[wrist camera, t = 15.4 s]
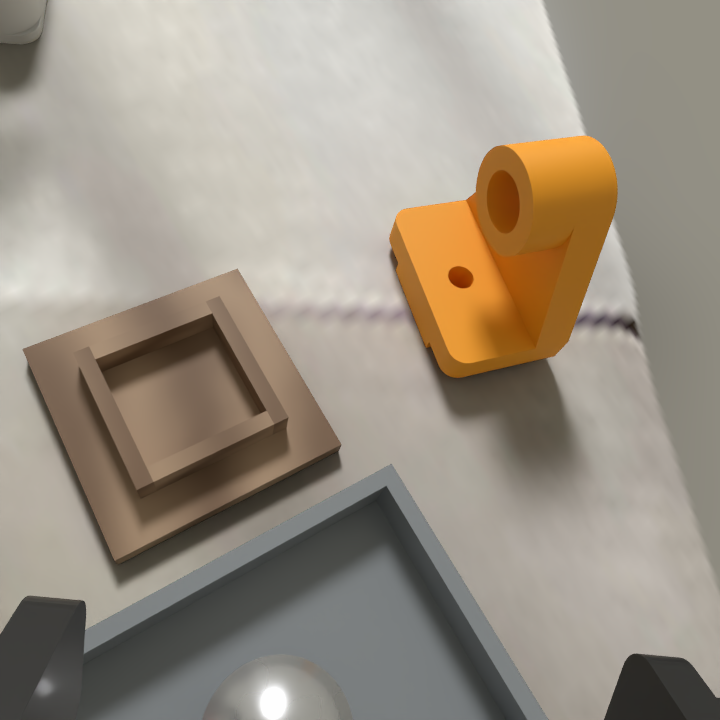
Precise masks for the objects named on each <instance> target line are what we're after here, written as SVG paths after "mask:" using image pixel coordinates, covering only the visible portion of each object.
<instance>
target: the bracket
mask: <svg viewBox="0 0 720 720" xmlns="http://www.w3.org/2000/svg"><path fill="white" fill-rule="evenodd" d="M616 203H617V178H616V173H615V169H614V166H613V162H612V160H611V158H610V156H609V154H608V152H607V151H606V149H605V148H604V147H603V145H602V144H600V143H599V142H598V141H597V140H596V139H594V138H592V137H589V136H576V137H568V138H559V139H551V140H543V141H534V142H526V143H518V144H509V145H501V146H496V147H494V148H492V149H491V150H490V151H489V152H488V153H487V154H486V156H485V157H484V159H483V161H482V163H481V166H480V169H479V172H478V177H477V184H476V192H475V193H474V194H473V195H472V196H470V197H469V198H468V199H467V200H463V201H456V202H449V203H442V204H435V205H428V206H421V207H414V208H407V209H403V210H401V211H400V212H399V213H398V214H397V216H396V219H395V222H394V225H393V228H392V231H391V234H390V237H389V240H390V244H391V246H392V249H393V251H394V254H395V256H396V259H397V261H398V266H397V268H396V273H397V276H398V278H399V281H400V283H401V286H402V288H403V291H404V293H405V296H406V298H407V301H408V304H409V306H410V309H411V311H412V314H413V316H414V319H415V321H416V324H417V327H418V329H419V332H420V334H421V337H422V339H423V342H424V344H425V347H426V348H428V347H432V350H433V352H434V355H435V357H436V360H437V362H438V365H439V367H440V369H441V370H442V371H443V372H444V373H445V374H446V375H448V376H450V377H454V378H461V377H465V376H470V375H474V374H479V373H483V372H487V371H492V370H496V369H500V368H505V367H509V366H514V365H518V364H522V363H527V362H531V361H535V360H540V359H544V358H548V357H553V356H555V355H556V354H557V353H558V352H559V351H560V350H561V349H562V348H563V347H564V345H565V344H566V343H567V342H568V341H569V338H570V335H571V333H572V330H573V327H574V324H575V322H576V319H577V316H578V313H579V311H580V308H581V305H582V302H583V299H584V297H585V294H586V291H587V288H588V286H589V283H590V280H591V277H592V275H593V272H594V269H595V266H596V263H597V261H598V258H599V255H600V252H601V250H602V247H603V244H604V241H605V238H606V236H607V233H608V230H609V227H610V225H611V222H612V219H613V216H614V213H615V208H616Z"/></svg>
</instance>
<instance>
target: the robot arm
mask: <svg viewBox="0 0 720 720" xmlns="http://www.w3.org/2000/svg"><path fill="white" fill-rule="evenodd" d="M85 622H86V605H85V602H84V601H81V600H70V599H60V598H49V597H38V596H27V597H25V598H24V599H23V600H22V601H21V603H20V604H19V606H18V607H17V609H16V611H15V612H14V614H13V615H12V617H11V618H10V620H9V622H8V623H7V625H6V626H5V628H4V630H3V631H2V633H1V634H0V720H76V716H77V712H78V707H79V702H80V696H81V687H82V672H83V655H84V639H85ZM604 720H720V698H716V697H715V695H714V694H713V693H712V691H711V690H710V689H709V687H708V686H707V685H706V683H705V682H704V681H703V679H702V678H701V676H700V675H699V674H698V672H697V671H696V670H695V668H694V667H693V666H692V665H691V664H690V663H689V662H688V661H687V660H685V659H683V658H678V657H667V656H656V655H645V654H632V655H630V656H629V657H628V658H627V660H626V661H625V663H624V665H623V668H622V671H621V674H620V676H619V679H618V682H617V685H616V688H615V690H614V693H613V696H612V699H611V702H610V704H609V707H608V710H607V713H606V716H605V718H604Z"/></svg>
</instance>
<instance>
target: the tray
mask: <svg viewBox="0 0 720 720" xmlns="http://www.w3.org/2000/svg"><path fill="white" fill-rule="evenodd" d="M277 654H285V655H294V656H298V657H302V658H304V659H307V660H309V661H312V662H313V663H315V664H317V665H318V666H320V667H321V668H322V669H324V670H325V671H326V672H327V673H328V674H329V675H330V676H331V677H332V678H333V679H334V680H335V681H336V682H337V684H338V685H339V686H340V688H341V690H342V691H343V693H344V695H345V697H346V699H347V702H348V704H349V706H350V710H351V713H352V717H353V720H548V718H547V717H546V715H545V713H544V712H543V710H542V708H541V707H540V705H539V704H538V702H537V700H536V699H535V697H534V695H533V694H532V692H531V691H530V689H529V687H528V686H527V684H526V682H525V681H524V679H523V677H522V676H521V674H520V673H519V671H518V669H517V668H516V666H515V664H514V663H513V661H512V660H511V658H510V656H509V655H508V653H507V651H506V650H505V648H504V646H503V645H502V643H501V642H500V640H499V638H498V637H497V635H496V633H495V632H494V630H493V629H492V627H491V625H490V624H489V622H488V620H487V619H486V617H485V615H484V614H483V612H482V611H481V609H480V607H479V606H478V604H477V602H476V601H475V599H474V598H473V596H472V594H471V593H470V591H469V589H468V588H467V586H466V584H465V583H464V581H463V580H462V578H461V576H460V575H459V573H458V571H457V570H456V568H455V567H454V565H453V563H452V562H451V560H450V558H449V557H448V555H447V553H446V552H445V550H444V549H443V547H442V545H441V544H440V542H439V540H438V539H437V537H436V536H435V534H434V532H433V531H432V529H431V527H430V526H429V524H428V522H427V521H426V519H425V518H424V516H423V514H422V513H421V511H420V509H419V508H418V506H417V504H416V503H415V501H414V500H413V498H412V496H411V495H410V493H409V491H408V490H407V488H406V487H405V485H404V483H403V482H402V480H401V478H400V477H399V475H398V473H397V472H396V470H395V469H394V467H393V465H392V464H390V465H388V466H386V467H385V468H383V469H381V470H379V471H377V472H375V473H374V474H372V475H370V476H368V477H366V478H364V479H363V480H361V481H359V482H357V483H355V484H353V485H352V486H350V487H348V488H346V489H344V490H342V491H340V492H339V493H337V494H335V495H333V496H331V497H329V498H328V499H326V500H324V501H322V502H320V503H318V504H317V505H315V506H313V507H311V508H309V509H307V510H305V511H304V512H302V513H300V514H298V515H296V516H294V517H293V518H291V519H289V520H287V521H285V522H283V523H282V524H280V525H278V526H276V527H274V528H272V529H270V530H269V531H267V532H265V533H263V534H261V535H259V536H258V537H256V538H254V539H252V540H250V541H248V542H247V543H245V544H243V545H241V546H239V547H237V548H236V549H234V550H232V551H230V552H228V553H226V554H224V555H223V556H221V557H219V558H217V559H215V560H213V561H212V562H210V563H208V564H206V565H204V566H202V567H201V568H199V569H197V570H195V571H193V572H191V573H189V574H188V575H186V576H184V577H182V578H180V579H178V580H177V581H175V582H173V583H171V584H169V585H167V586H166V587H164V588H162V589H160V590H158V591H156V592H155V593H153V594H151V595H149V596H147V597H145V598H143V599H142V600H140V601H138V602H136V603H134V604H132V605H131V606H129V607H127V608H125V609H123V610H121V611H120V612H118V613H116V614H114V615H112V616H110V617H108V618H107V619H105V620H103V621H101V622H99V623H97V624H96V625H94V626H92V627H90V628H88V629H86V630H85V639H84V655H83V672H82V687H81V696H80V702H79V707H78V712H77V716H76V720H202V718H203V715H204V712H205V710H206V708H207V705H208V703H209V702H210V700H211V698H212V696H213V694H214V693H215V692H216V690H217V689H218V687H219V686H220V685H221V684H222V683H223V682H224V680H225V679H226V678H227V677H228V676H229V675H231V674H232V673H233V672H234V671H235V670H237V669H238V668H240V667H241V666H243V665H244V664H246V663H248V662H250V661H252V660H255V659H257V658H260V657H264V656H269V655H277Z"/></svg>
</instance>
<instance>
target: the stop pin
mask: <svg viewBox="0 0 720 720" xmlns="http://www.w3.org/2000/svg"><path fill="white" fill-rule="evenodd" d="M202 720H353V717H352V713H351V710H350V706H349V704H348V702H347V699H346V697H345V695H344V693H343V691H342V690H341V688H340V686H339V685H338V684H337V682H336V681H335V680H334V679H333V678H332V677H331V676H330V675H329V674H328V673H327V672H326V671H325V670H324V669H322V668H321V667H320V666H318V665H317V664H315V663H313V662H312V661H309V660H307V659H304V658H302V657H298V656H294V655H285V654H277V655H269V656H264V657H260V658H257V659H255V660H252V661H250V662H248V663H246V664H244V665H243V666H241V667H240V668H238V669H237V670H235V671H234V672H233V673H232V674H231V675H229V676H228V677H227V678H226V679H225V680H224V682H223V683H222V684H221V685H220V686H219V687H218V689H217V690H216V692H215V693H214V694H213V696H212V698H211V700H210V702H209V703H208V705H207V708H206V710H205V712H204V715H203V718H202Z"/></svg>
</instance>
